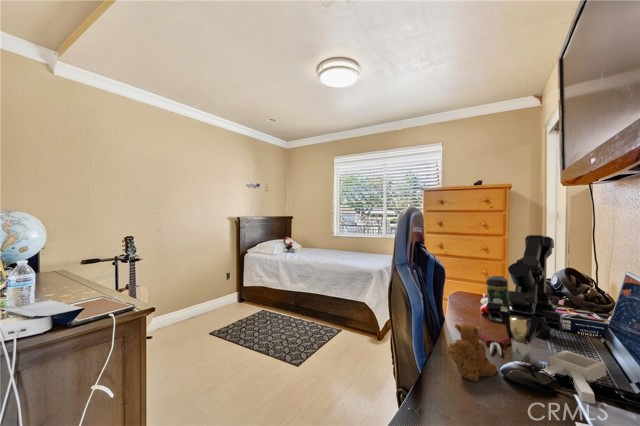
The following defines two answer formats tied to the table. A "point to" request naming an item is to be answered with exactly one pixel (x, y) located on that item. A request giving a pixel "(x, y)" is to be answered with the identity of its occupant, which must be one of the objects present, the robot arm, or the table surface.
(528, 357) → the coupler
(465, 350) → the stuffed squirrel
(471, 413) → the table surface
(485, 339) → the pliers
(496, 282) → the coffee jar
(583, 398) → the socket
